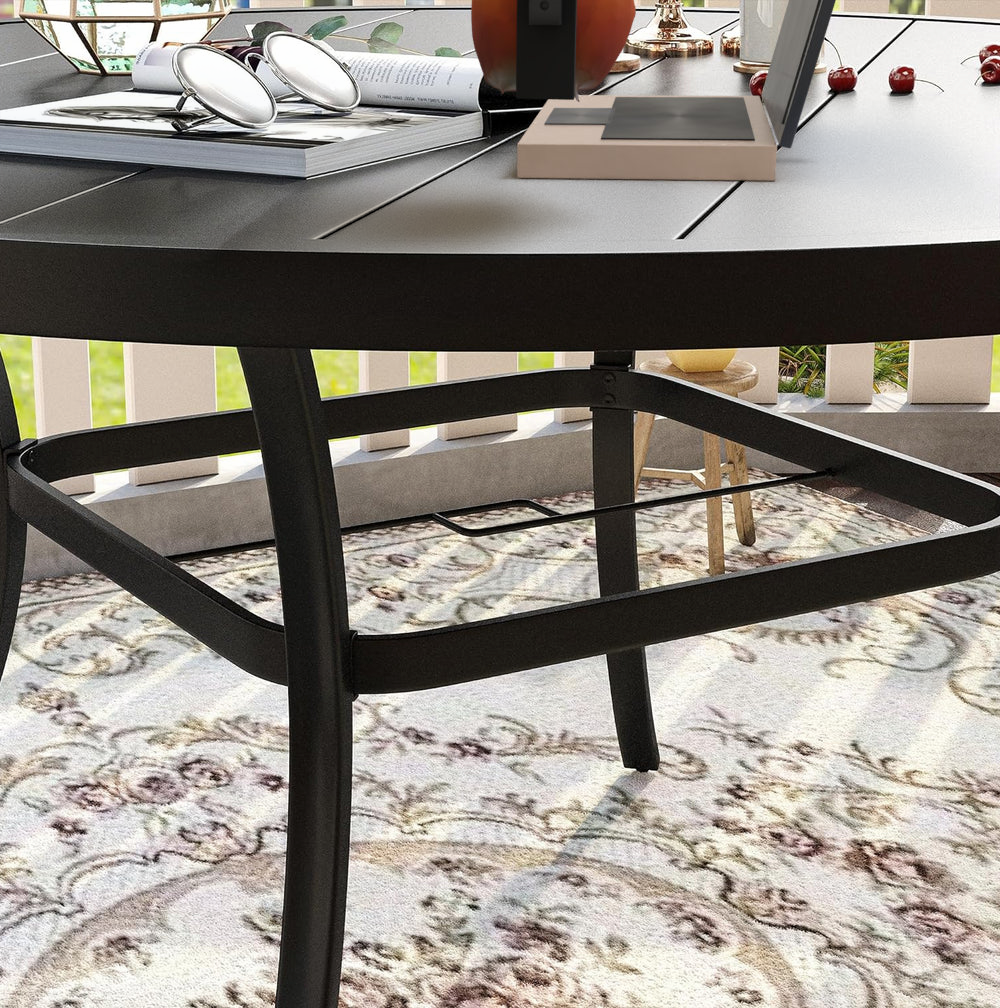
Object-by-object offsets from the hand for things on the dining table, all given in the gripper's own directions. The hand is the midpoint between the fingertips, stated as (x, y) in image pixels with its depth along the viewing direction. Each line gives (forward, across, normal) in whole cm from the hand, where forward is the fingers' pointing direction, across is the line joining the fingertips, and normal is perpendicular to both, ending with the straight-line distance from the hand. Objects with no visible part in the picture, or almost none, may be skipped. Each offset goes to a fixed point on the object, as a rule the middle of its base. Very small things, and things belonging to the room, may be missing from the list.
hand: (553, 86), depth 70 cm
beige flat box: (+7, +22, -4) cm, 23 cm away
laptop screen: (-3, +22, -14) cm, 26 cm away
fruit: (+1, 0, 0) cm, 1 cm away
